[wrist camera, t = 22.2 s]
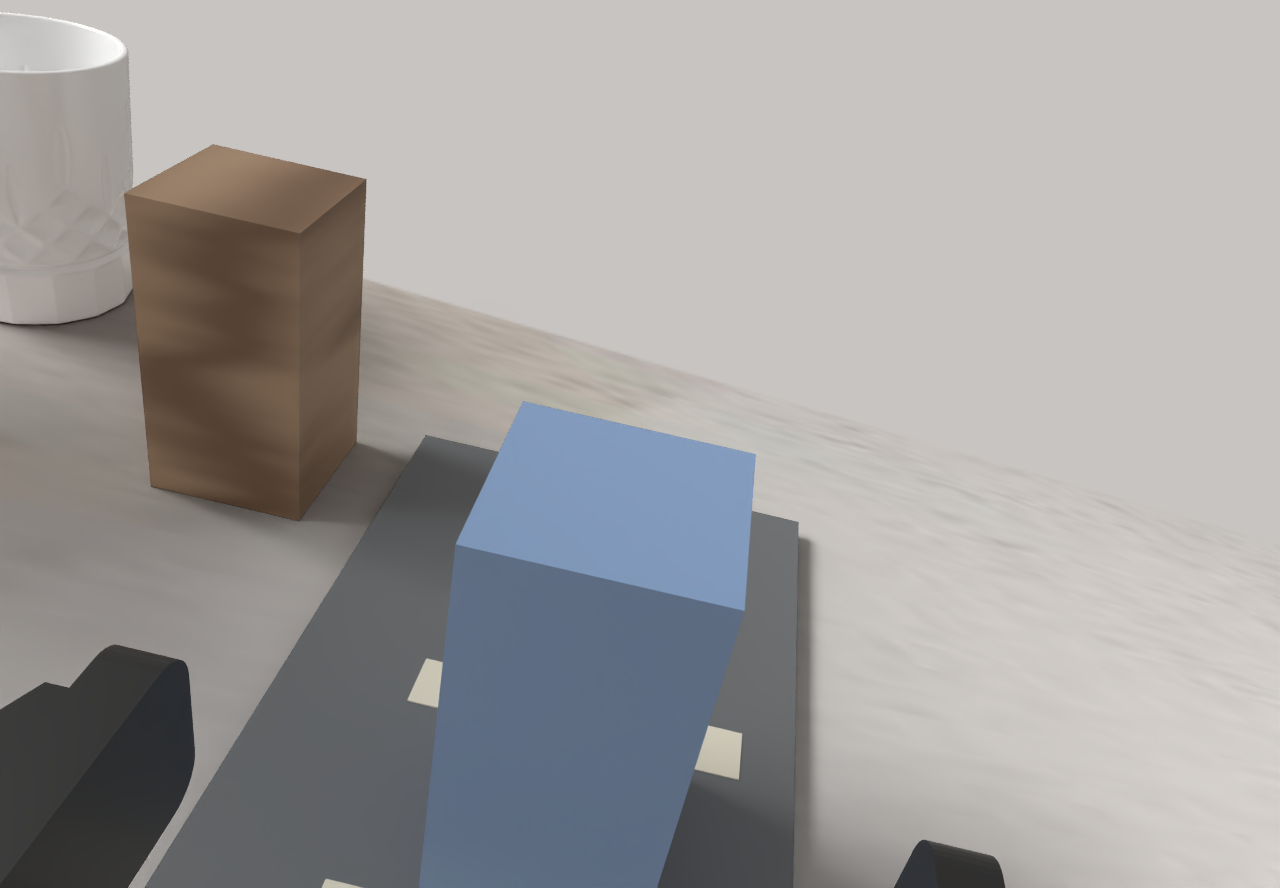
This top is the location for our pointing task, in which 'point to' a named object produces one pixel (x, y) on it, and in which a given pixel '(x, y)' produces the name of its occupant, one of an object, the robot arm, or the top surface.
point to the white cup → (62, 170)
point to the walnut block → (248, 325)
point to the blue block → (583, 653)
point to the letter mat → (407, 713)
